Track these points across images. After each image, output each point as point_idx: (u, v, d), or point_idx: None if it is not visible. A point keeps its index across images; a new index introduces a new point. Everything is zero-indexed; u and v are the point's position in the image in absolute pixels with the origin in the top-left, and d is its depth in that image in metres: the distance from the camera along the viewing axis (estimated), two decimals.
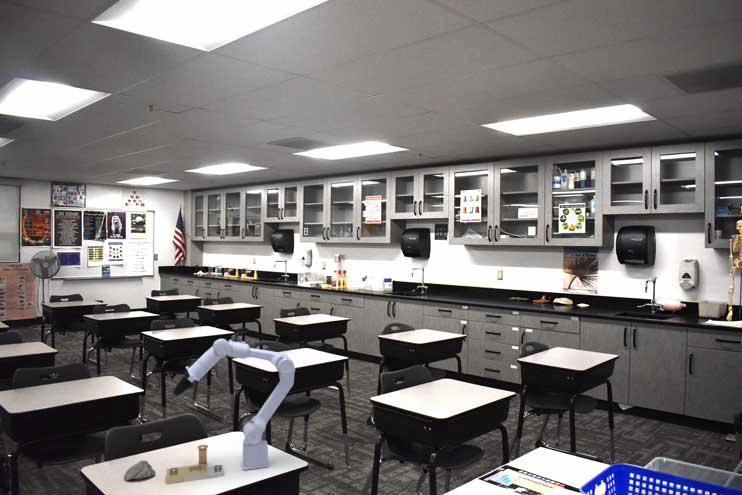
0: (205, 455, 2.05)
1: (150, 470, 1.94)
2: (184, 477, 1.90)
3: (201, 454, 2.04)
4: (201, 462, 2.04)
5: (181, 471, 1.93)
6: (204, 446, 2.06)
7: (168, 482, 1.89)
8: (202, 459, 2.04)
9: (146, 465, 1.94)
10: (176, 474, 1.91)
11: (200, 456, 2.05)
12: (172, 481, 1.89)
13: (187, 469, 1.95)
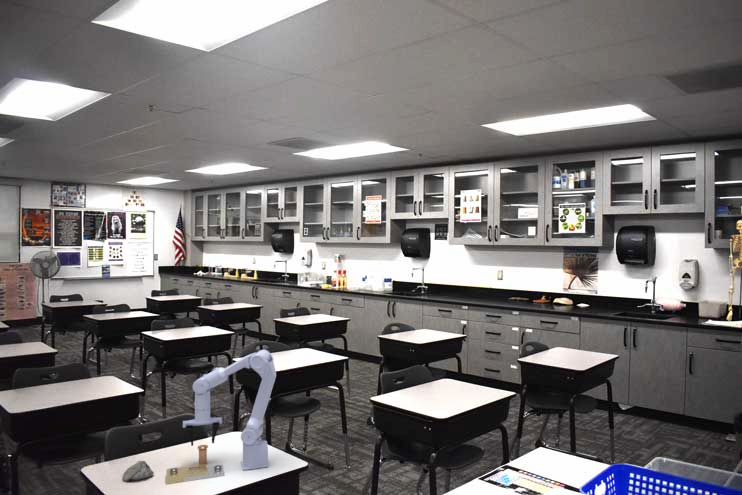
0: (205, 455, 2.05)
1: (148, 471, 1.93)
2: (184, 477, 1.90)
3: (201, 454, 2.04)
4: (201, 462, 2.04)
5: (181, 471, 1.93)
6: (204, 446, 2.06)
7: (168, 482, 1.89)
8: (202, 459, 2.04)
9: (144, 465, 1.94)
10: (176, 474, 1.91)
11: (200, 456, 2.05)
12: (172, 481, 1.89)
13: (187, 469, 1.95)
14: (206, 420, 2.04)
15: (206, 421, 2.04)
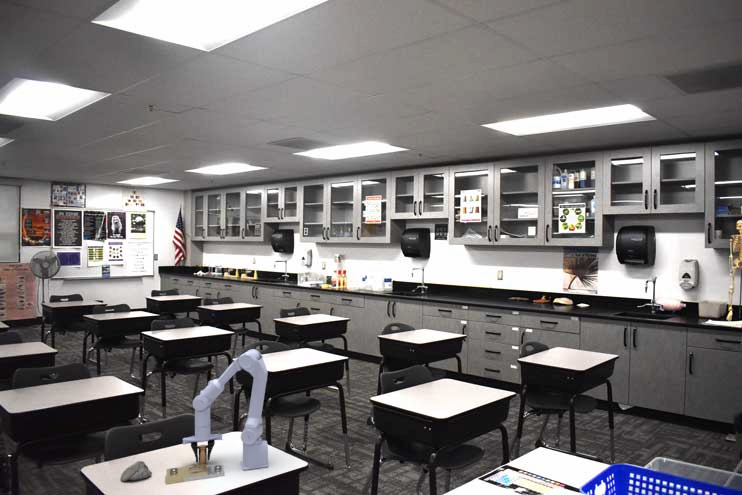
0: (205, 455, 2.05)
1: (146, 471, 1.93)
2: (184, 477, 1.90)
3: (201, 454, 2.04)
4: (201, 462, 2.04)
5: (181, 471, 1.93)
6: (204, 446, 2.06)
7: (168, 482, 1.89)
8: (202, 459, 2.04)
9: (142, 466, 1.94)
10: (176, 474, 1.91)
11: (200, 456, 2.05)
12: (172, 481, 1.89)
13: (187, 469, 1.95)
14: (206, 437, 2.04)
15: (206, 438, 2.04)
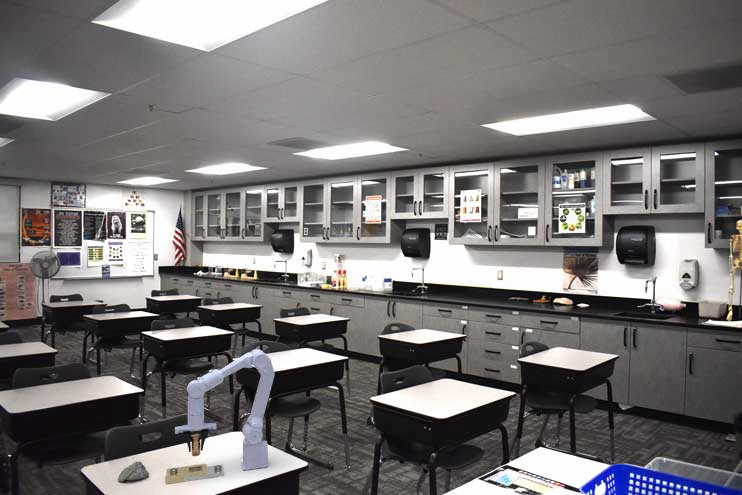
0: (198, 445, 1.96)
1: (143, 471, 1.92)
2: (184, 477, 1.90)
3: (194, 444, 1.95)
4: (194, 452, 1.95)
5: (181, 471, 1.93)
6: (197, 435, 1.97)
7: (168, 482, 1.89)
8: (195, 449, 1.95)
9: (140, 466, 1.93)
10: (176, 474, 1.91)
11: (193, 446, 1.95)
12: (172, 481, 1.89)
13: (187, 469, 1.95)
14: (199, 426, 1.95)
15: (199, 427, 1.95)
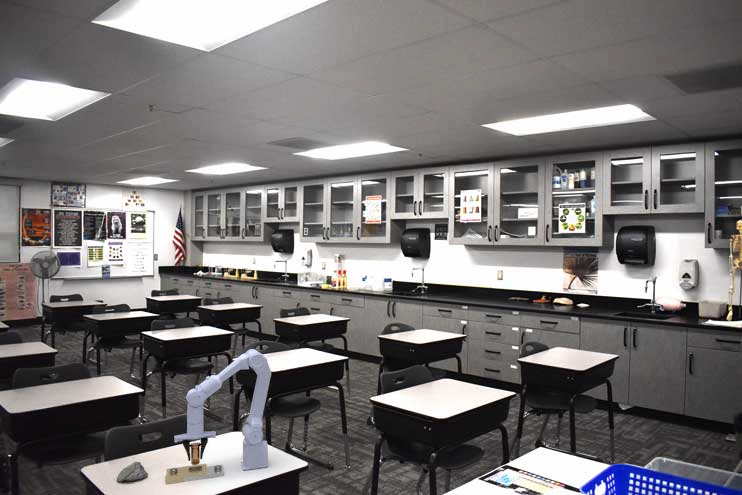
0: (198, 453, 1.95)
1: (142, 472, 1.92)
2: (184, 477, 1.90)
3: (194, 453, 1.94)
4: (193, 461, 1.94)
5: (181, 471, 1.93)
6: (197, 444, 1.96)
7: (168, 482, 1.89)
8: (195, 457, 1.94)
9: (138, 467, 1.93)
10: (176, 474, 1.91)
11: (192, 455, 1.94)
12: (172, 481, 1.89)
13: (187, 469, 1.95)
14: (199, 434, 1.94)
15: (199, 435, 1.94)
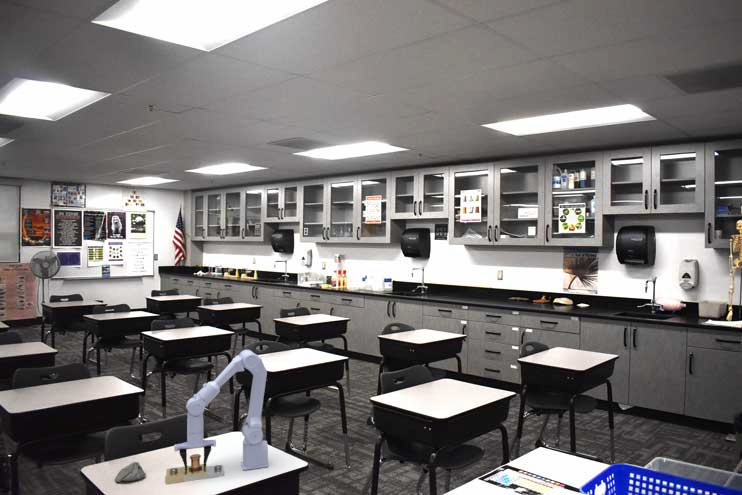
0: (198, 465, 1.95)
1: (140, 472, 1.92)
2: (184, 477, 1.90)
3: (194, 465, 1.94)
4: None
5: (181, 471, 1.93)
6: (197, 456, 1.96)
7: (168, 482, 1.89)
8: (195, 469, 1.94)
9: (136, 467, 1.93)
10: (176, 474, 1.91)
11: (192, 466, 1.94)
12: (172, 481, 1.89)
13: (187, 469, 1.95)
14: (199, 443, 1.94)
15: (199, 444, 1.94)
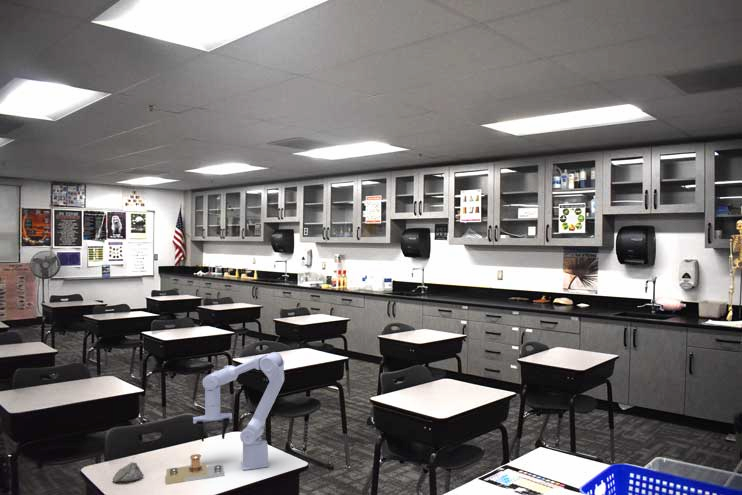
0: (198, 465, 1.95)
1: (137, 473, 1.91)
2: (184, 477, 1.90)
3: (194, 464, 1.94)
4: None
5: (181, 471, 1.93)
6: (197, 456, 1.96)
7: (168, 482, 1.89)
8: (195, 469, 1.95)
9: (134, 467, 1.92)
10: (176, 474, 1.91)
11: (193, 466, 1.95)
12: (172, 481, 1.89)
13: (187, 469, 1.95)
14: (216, 416, 2.05)
15: (216, 417, 2.05)
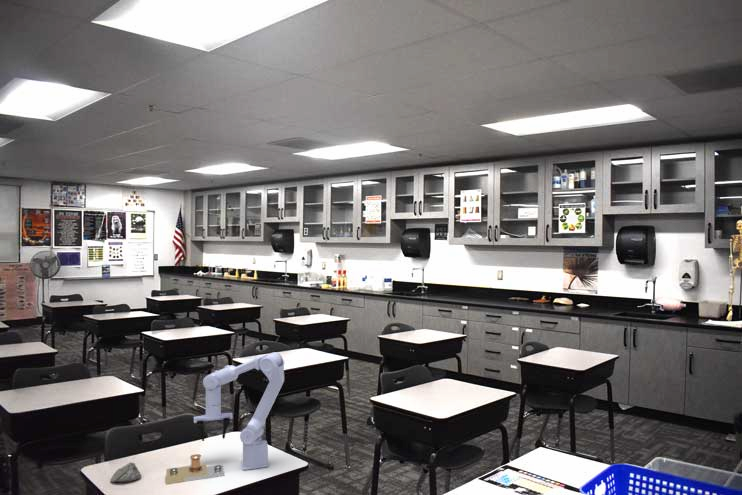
0: (198, 465, 1.95)
1: (135, 473, 1.91)
2: (184, 477, 1.90)
3: (194, 464, 1.94)
4: None
5: (181, 471, 1.93)
6: (197, 456, 1.96)
7: (168, 482, 1.89)
8: (195, 469, 1.95)
9: (131, 468, 1.92)
10: (176, 474, 1.91)
11: (193, 466, 1.95)
12: (172, 481, 1.89)
13: (187, 469, 1.95)
14: (217, 415, 2.06)
15: (217, 416, 2.06)
